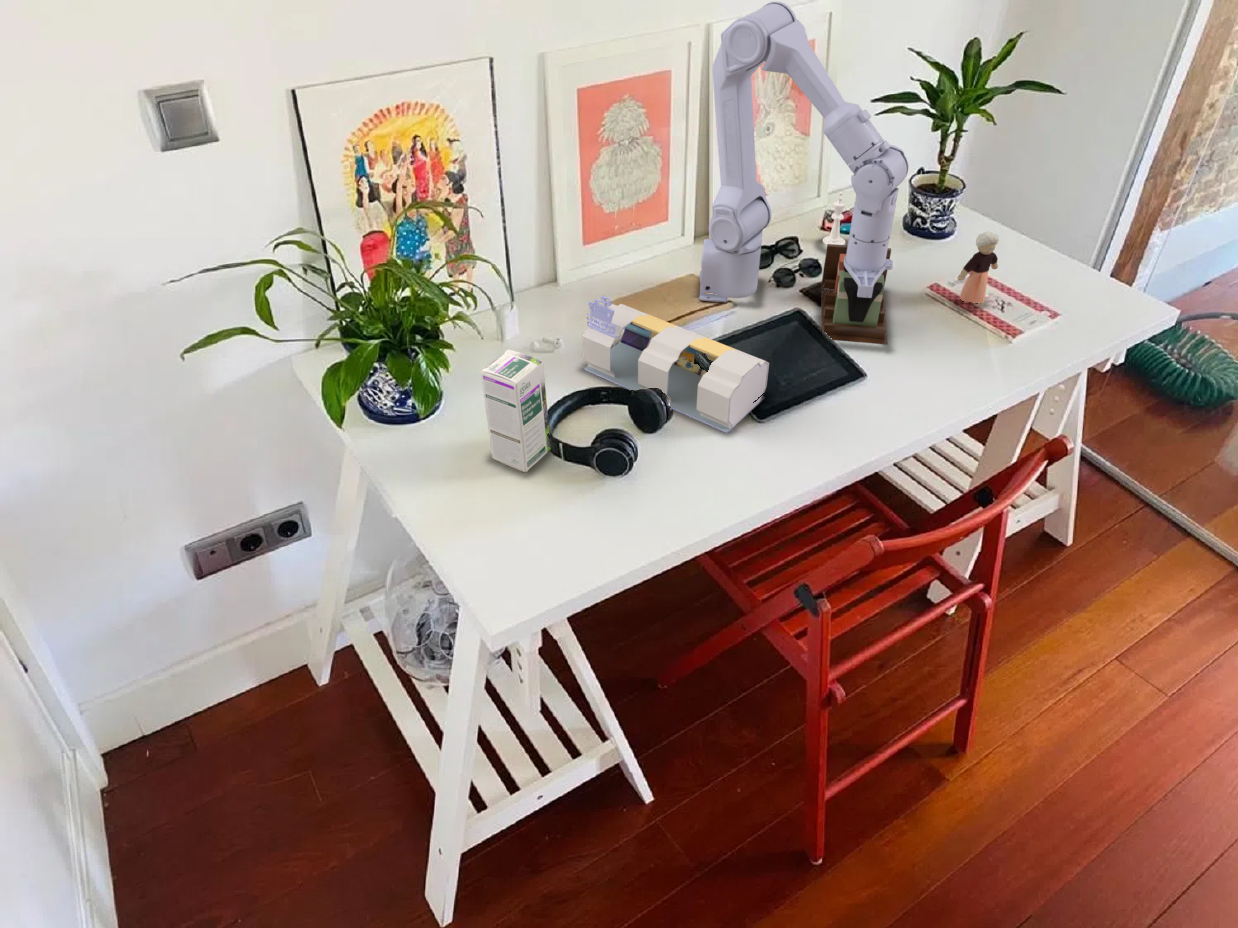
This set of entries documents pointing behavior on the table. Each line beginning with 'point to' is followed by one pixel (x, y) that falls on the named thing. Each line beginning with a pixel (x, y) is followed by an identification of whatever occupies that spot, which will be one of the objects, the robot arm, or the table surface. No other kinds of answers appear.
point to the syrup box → (516, 409)
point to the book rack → (829, 299)
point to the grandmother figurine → (979, 269)
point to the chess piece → (836, 224)
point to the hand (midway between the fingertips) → (855, 314)
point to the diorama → (673, 364)
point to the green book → (842, 305)
